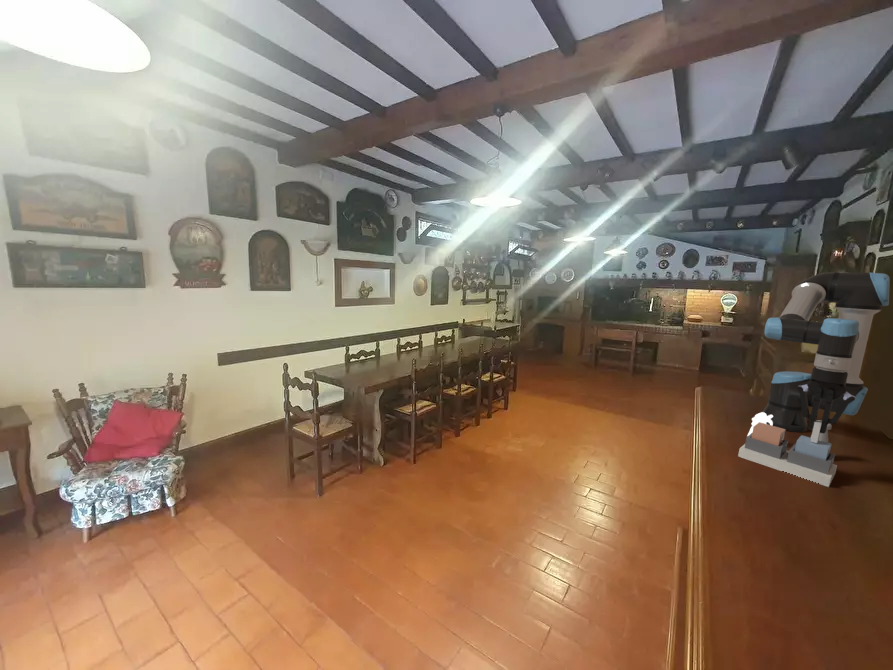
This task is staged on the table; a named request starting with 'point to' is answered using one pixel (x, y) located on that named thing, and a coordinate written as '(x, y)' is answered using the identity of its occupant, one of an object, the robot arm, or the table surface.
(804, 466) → the key housing
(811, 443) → the slate blue key
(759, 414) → the figurine
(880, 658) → the table surface
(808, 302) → the robot arm
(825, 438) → the salt shaker
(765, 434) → the terracotta key
